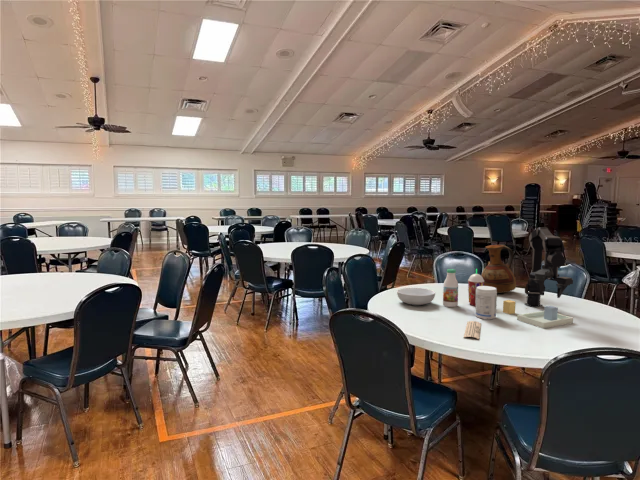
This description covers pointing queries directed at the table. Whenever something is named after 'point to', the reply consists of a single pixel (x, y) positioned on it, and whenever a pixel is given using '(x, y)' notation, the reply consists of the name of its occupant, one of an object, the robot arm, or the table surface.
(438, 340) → the table surface
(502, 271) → the ceramic pitcher
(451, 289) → the milk bottle
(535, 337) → the table surface
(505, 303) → the ochre block
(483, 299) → the supplement tub
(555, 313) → the slate block
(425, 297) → the serving bowl
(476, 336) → the newspaper
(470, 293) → the smoothie
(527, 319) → the tray
